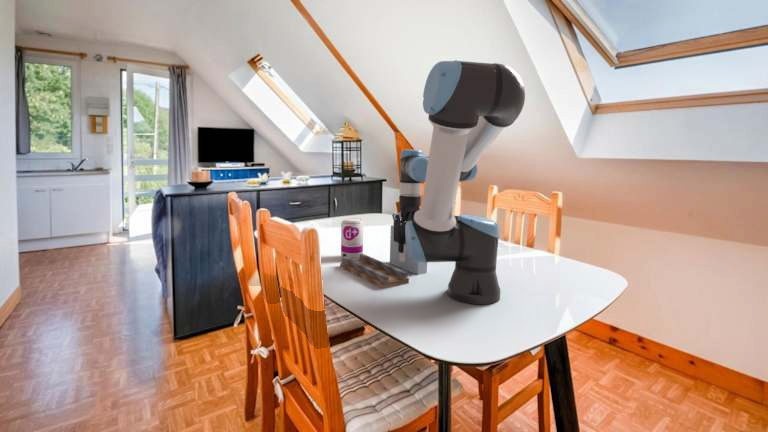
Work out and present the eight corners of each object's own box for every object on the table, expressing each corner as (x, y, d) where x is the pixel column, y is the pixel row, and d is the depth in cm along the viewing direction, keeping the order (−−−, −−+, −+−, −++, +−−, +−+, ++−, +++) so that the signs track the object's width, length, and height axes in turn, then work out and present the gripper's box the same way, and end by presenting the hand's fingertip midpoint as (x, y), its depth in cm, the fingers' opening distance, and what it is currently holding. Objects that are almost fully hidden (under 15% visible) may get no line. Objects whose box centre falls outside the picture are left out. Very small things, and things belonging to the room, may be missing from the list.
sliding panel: (426, 272, 139) (428, 232, 137) (417, 274, 137) (419, 234, 135) (398, 261, 152) (399, 224, 150) (389, 262, 150) (390, 225, 147)
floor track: (408, 283, 128) (409, 272, 128) (382, 288, 123) (383, 277, 122) (364, 262, 149) (364, 253, 149) (340, 266, 144) (340, 257, 143)
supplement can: (359, 262, 150) (360, 222, 147) (338, 260, 151) (338, 220, 148) (365, 256, 157) (365, 218, 155) (344, 254, 159) (344, 216, 156)
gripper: (421, 192, 148) (419, 254, 152) (383, 194, 138) (382, 261, 142) (436, 194, 142) (432, 259, 146) (397, 197, 132) (394, 266, 136)
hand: (407, 260), depth 144 cm, fingers closed on sliding panel, 4 cm apart
